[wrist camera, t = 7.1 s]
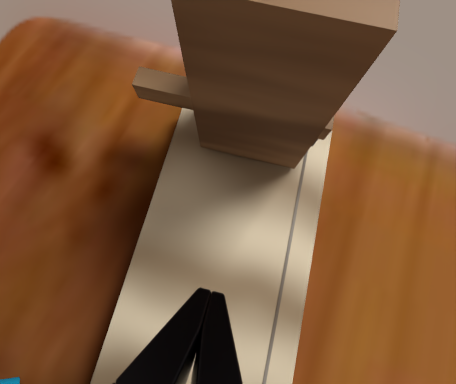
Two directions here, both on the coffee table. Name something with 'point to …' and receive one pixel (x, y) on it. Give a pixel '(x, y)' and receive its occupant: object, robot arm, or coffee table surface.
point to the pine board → (223, 254)
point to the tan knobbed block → (269, 70)
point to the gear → (10, 381)
